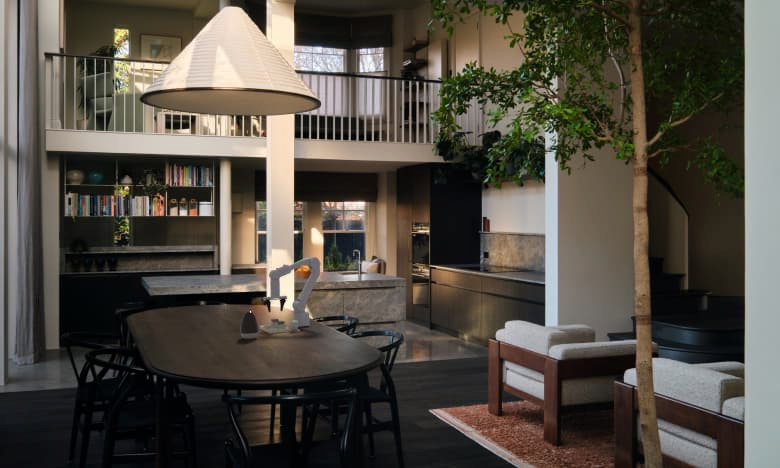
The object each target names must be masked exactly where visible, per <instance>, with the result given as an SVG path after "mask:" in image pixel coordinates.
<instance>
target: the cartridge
mask: <svg viewBox="0 0 780 468" xmlns="http://www.w3.org/2000/svg"><path fill="white" fill-rule="evenodd" d="M290 330H291V331H297V330H299V327H298V321H297V320H294V319H293V320H290Z"/></svg>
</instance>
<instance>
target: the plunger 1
mask: <svg viewBox="0 0 780 468" xmlns="http://www.w3.org/2000/svg"><path fill="white" fill-rule="evenodd" d="M271 321H272V322H277V321H280V320H279V318H278V317H277V318H271V319H270V322H271Z"/></svg>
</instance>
